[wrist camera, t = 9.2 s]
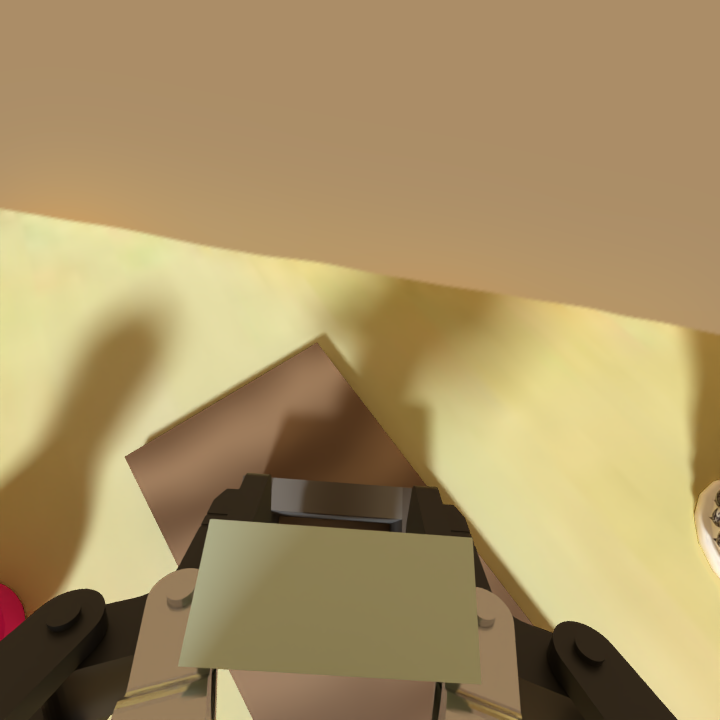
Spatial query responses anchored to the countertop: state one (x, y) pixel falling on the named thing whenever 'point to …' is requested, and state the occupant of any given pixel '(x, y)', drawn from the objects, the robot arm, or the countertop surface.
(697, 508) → the decorative candle
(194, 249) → the countertop surface
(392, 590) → the slat
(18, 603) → the pepper mill
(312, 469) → the brown piece
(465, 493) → the countertop surface
